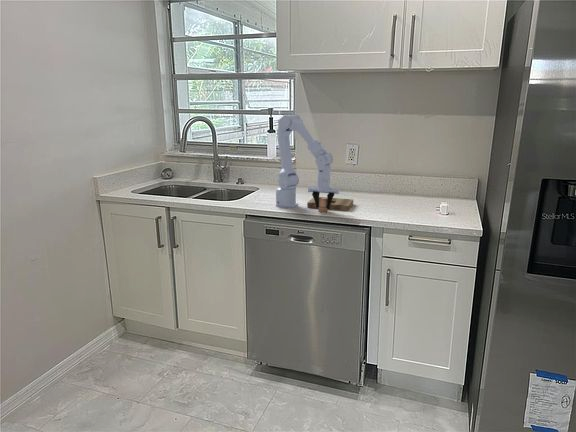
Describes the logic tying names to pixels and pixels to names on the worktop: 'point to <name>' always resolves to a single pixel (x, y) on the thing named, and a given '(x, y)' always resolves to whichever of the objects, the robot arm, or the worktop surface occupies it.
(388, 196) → the worktop surface
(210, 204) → the worktop surface
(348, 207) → the socket board
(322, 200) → the dowel
